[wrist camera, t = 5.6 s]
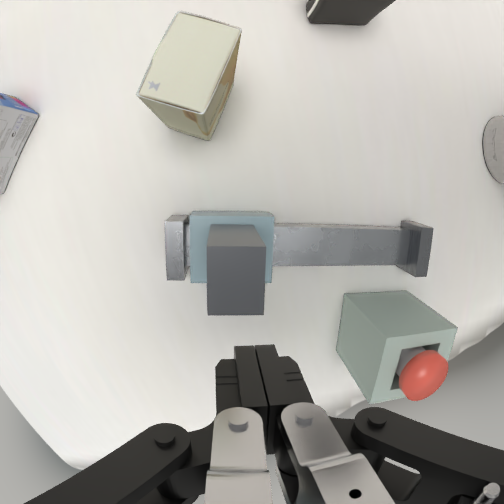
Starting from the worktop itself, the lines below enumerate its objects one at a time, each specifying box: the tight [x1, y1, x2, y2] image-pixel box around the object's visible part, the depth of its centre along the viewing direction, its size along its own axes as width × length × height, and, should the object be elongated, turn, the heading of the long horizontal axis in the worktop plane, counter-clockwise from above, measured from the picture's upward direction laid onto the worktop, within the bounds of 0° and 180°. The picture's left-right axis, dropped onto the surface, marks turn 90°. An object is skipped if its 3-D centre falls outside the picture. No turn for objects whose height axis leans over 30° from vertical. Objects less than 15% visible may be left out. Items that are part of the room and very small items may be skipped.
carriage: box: [190, 211, 274, 315], centre depth 25 cm, size 7×6×11 cm
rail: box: [165, 215, 433, 280], centre depth 29 cm, size 25×5×4 cm, turn 89°
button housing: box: [336, 291, 458, 404], centre depth 29 cm, size 8×7×10 cm
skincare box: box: [136, 11, 242, 141], centre depth 21 cm, size 6×4×12 cm
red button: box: [396, 346, 448, 401], centre depth 27 cm, size 5×5×10 cm
